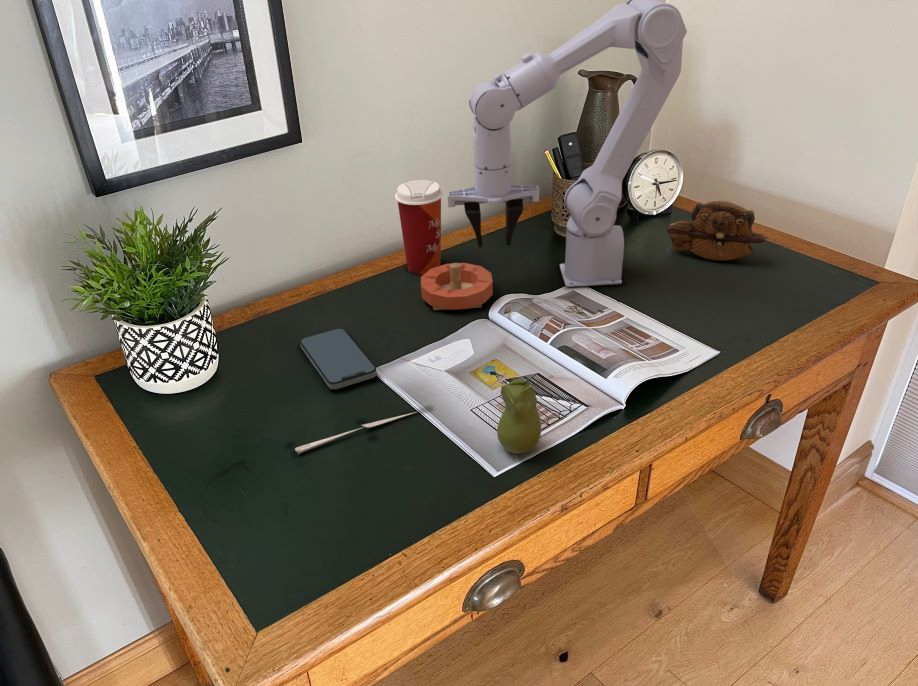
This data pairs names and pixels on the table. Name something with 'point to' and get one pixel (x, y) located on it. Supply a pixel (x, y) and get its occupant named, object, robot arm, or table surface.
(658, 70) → the robot arm
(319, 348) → the smartphone
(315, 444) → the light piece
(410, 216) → the coffee cup
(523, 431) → the pear
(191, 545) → the table surface
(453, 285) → the post
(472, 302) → the ring
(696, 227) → the wooden carving
